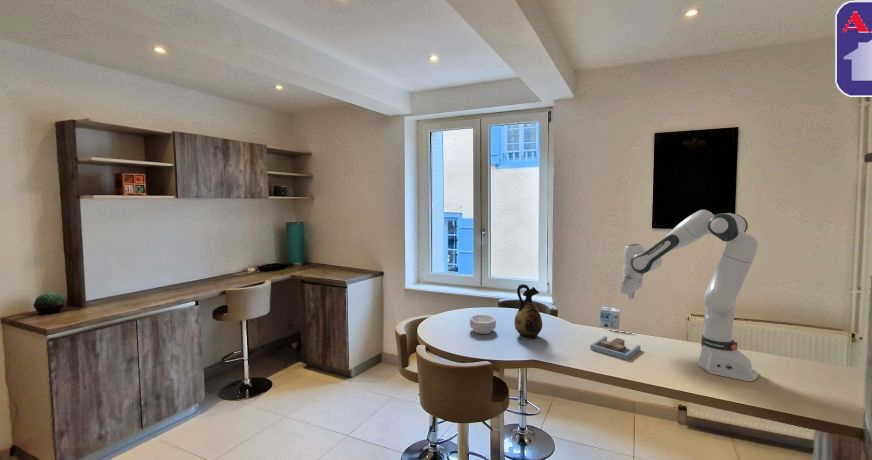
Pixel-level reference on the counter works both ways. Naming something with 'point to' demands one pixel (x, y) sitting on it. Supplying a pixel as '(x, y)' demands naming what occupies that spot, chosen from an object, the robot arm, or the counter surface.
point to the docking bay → (626, 356)
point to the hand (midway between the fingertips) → (631, 298)
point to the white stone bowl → (482, 323)
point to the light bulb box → (609, 317)
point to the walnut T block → (614, 345)
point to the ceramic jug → (527, 315)
